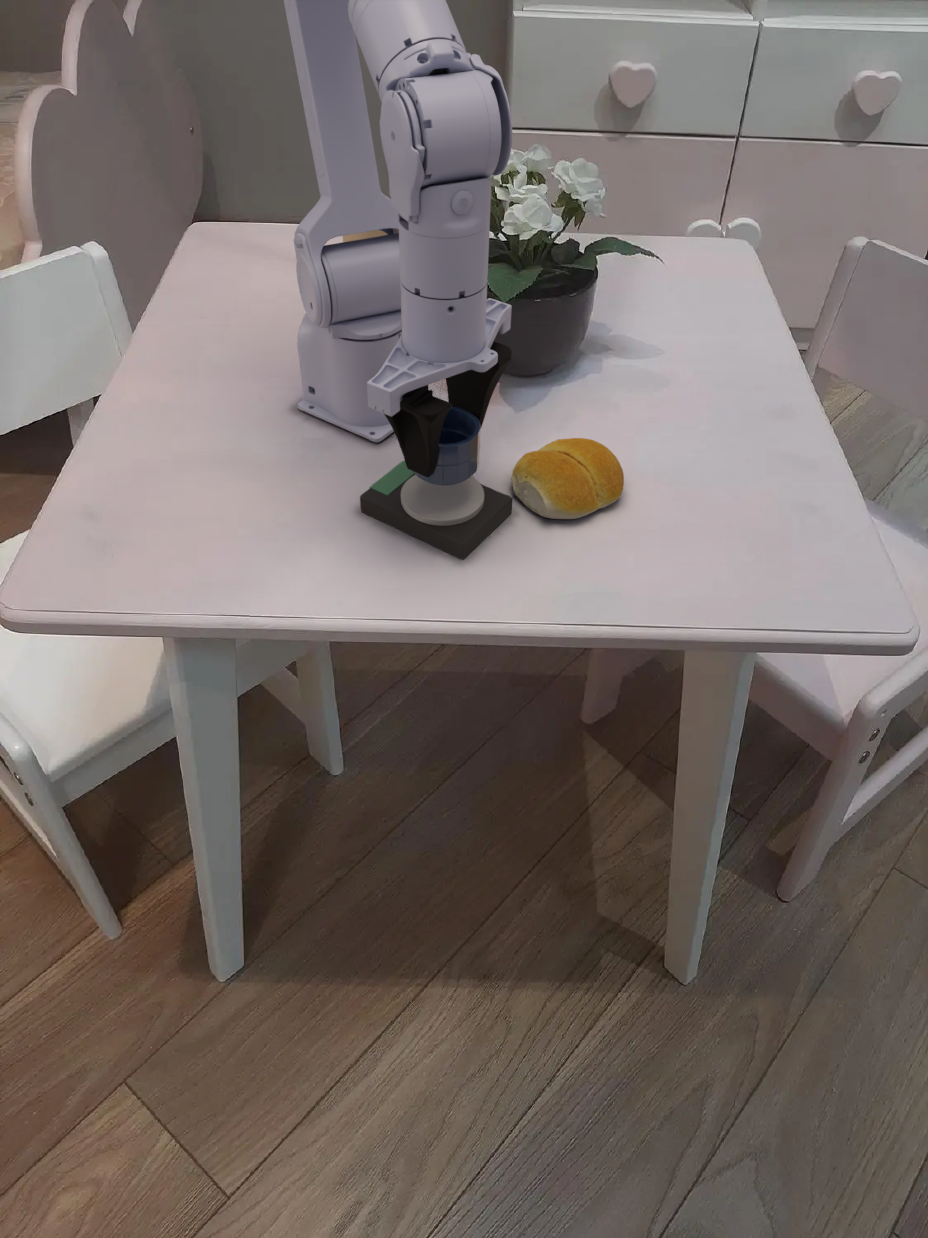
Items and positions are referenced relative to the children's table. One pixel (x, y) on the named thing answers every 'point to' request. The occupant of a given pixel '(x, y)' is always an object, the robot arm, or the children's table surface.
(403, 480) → the scale
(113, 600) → the children's table surface
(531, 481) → the bread roll
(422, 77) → the robot arm
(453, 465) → the cup
